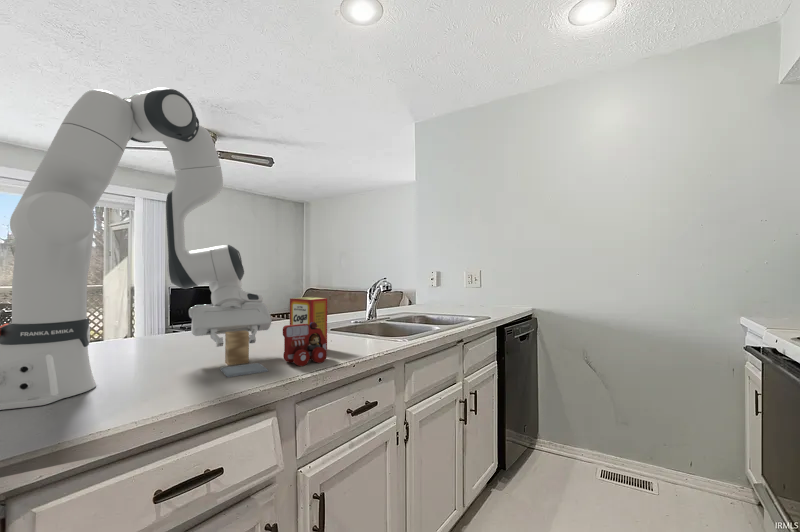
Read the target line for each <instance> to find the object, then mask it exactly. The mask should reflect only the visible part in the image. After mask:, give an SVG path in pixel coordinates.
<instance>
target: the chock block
mask: <svg viewBox="0 0 800 532" xmlns="http://www.w3.org/2000/svg"><path fill="white" fill-rule="evenodd" d="M249 335H250V332H247V331H245V330H244V331H232V332H225V336H224V337H225V338H224V339H225V341H224V343H225V345H224V346H225V348H224V349H225V350H224V351H225V352H224V353H225V354H224V356H225V358H224V362H225V364H227V366H237V365H244V364H248V363H249V364H250V359H249V358H250V354H249V353H250V343H249Z"/></svg>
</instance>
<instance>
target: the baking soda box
mask: <svg viewBox="0 0 800 532" xmlns="http://www.w3.org/2000/svg"><path fill="white" fill-rule="evenodd" d="M311 322H315V323H316V324H317V327H316V328H320V329H321V330H322V332H323V335H324V337H325V339H326V341H327V342H328V298H326V297H310V296H305V297H293V298H289V325H297V324H308V325H310V323H311ZM315 334H316V333H315ZM316 335H317V334H316ZM317 344H319V343H317ZM309 345H310V344H309Z"/></svg>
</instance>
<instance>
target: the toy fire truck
mask: <svg viewBox="0 0 800 532" xmlns="http://www.w3.org/2000/svg"><path fill="white" fill-rule="evenodd" d="M316 327H317V324H316V323H315V322H311V323H310V325H308V324H297V325H290V324H287V325H284V326H283V328H282V336H283V339H284V345H283V347H284V348H283V349H284V352H283V359H284V361H285V362H287V363H289V364H293V363H294V364H295V365H296V366H299V367H304V366H306V365H307V364H308V363H309V361H310V360H312V361H313V363H318V364H321V363H324V362H325V360H326V358H327V356H328V354H327V350H328V340H327V341H326V339H325V337H324V335H323V332H322V330H321V329H320V328H316ZM315 333H316V334H317V335H316V334H315ZM317 343H319V344H317ZM309 344H310V345H309Z"/></svg>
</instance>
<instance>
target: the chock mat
mask: <svg viewBox="0 0 800 532" xmlns="http://www.w3.org/2000/svg"><path fill="white" fill-rule="evenodd" d="M220 371H221V372H222V373H223V374H224V375H225V377H226V378H231V377H232V378H233V377H239V376H245V375H252V374H259V373H267V372H268V371H269V370H268V368H266V366H264V365H262V364H261V363H260V362H255V363H249V364H248V363H245V364H238V365H230V366H225V367H220Z"/></svg>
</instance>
